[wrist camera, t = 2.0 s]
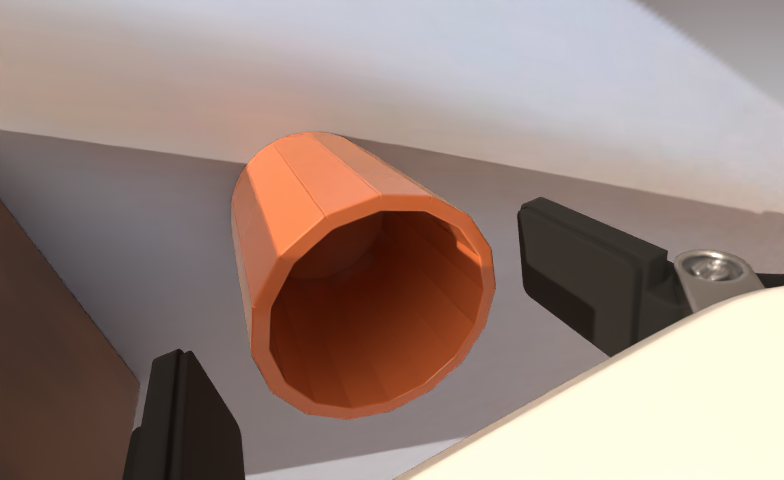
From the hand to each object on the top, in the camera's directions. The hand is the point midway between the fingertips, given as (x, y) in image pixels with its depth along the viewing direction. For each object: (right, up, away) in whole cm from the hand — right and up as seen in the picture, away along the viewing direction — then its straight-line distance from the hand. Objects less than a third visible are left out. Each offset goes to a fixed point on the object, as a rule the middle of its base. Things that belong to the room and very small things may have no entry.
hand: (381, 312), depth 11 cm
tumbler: (-3, +3, +6) cm, 7 cm away
